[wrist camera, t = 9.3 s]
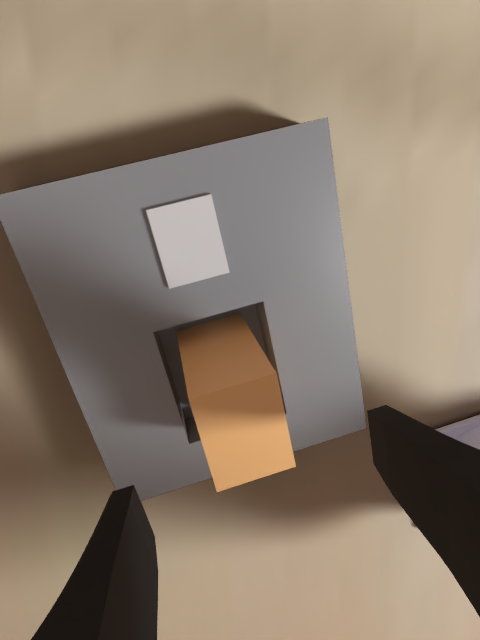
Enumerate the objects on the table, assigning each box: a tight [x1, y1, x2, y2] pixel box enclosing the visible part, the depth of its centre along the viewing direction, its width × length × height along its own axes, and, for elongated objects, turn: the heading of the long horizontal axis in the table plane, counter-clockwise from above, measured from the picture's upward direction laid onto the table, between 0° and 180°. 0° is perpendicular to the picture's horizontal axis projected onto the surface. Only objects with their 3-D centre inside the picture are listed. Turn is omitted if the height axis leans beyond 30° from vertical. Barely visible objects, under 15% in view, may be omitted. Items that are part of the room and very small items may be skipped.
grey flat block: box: [0, 117, 367, 501], centre depth 19 cm, size 12×14×3 cm
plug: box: [176, 314, 296, 492], centre depth 18 cm, size 3×4×6 cm
